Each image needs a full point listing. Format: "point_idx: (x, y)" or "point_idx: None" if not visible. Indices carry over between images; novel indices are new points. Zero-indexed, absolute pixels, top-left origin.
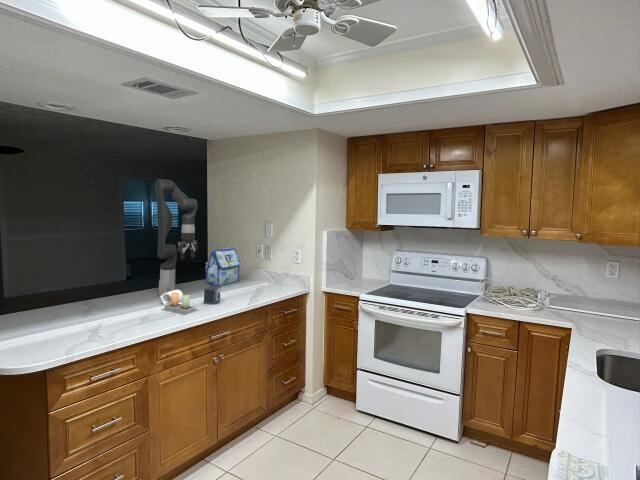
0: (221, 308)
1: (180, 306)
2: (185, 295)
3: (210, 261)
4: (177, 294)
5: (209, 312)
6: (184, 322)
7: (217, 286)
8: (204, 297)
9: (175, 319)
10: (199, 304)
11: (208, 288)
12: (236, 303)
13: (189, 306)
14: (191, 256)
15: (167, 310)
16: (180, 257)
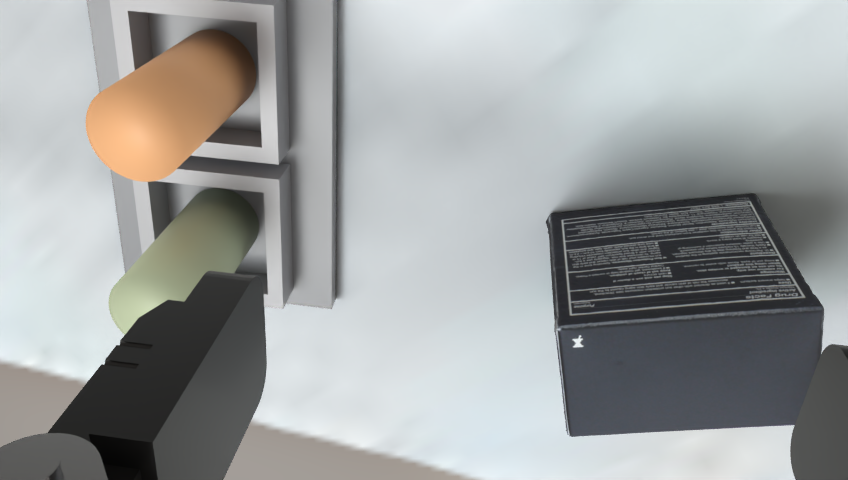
0: (538, 405)
1: (220, 156)
2: (152, 306)
3: None
4: (142, 177)
5: (369, 378)
6: (41, 353)
7: (784, 398)
8: (552, 269)
9: (37, 254)
10: (562, 154)
11: (596, 366)
12: (777, 442)
13: (266, 245)
14: (829, 384)
15: (115, 52)
16: (146, 315)
